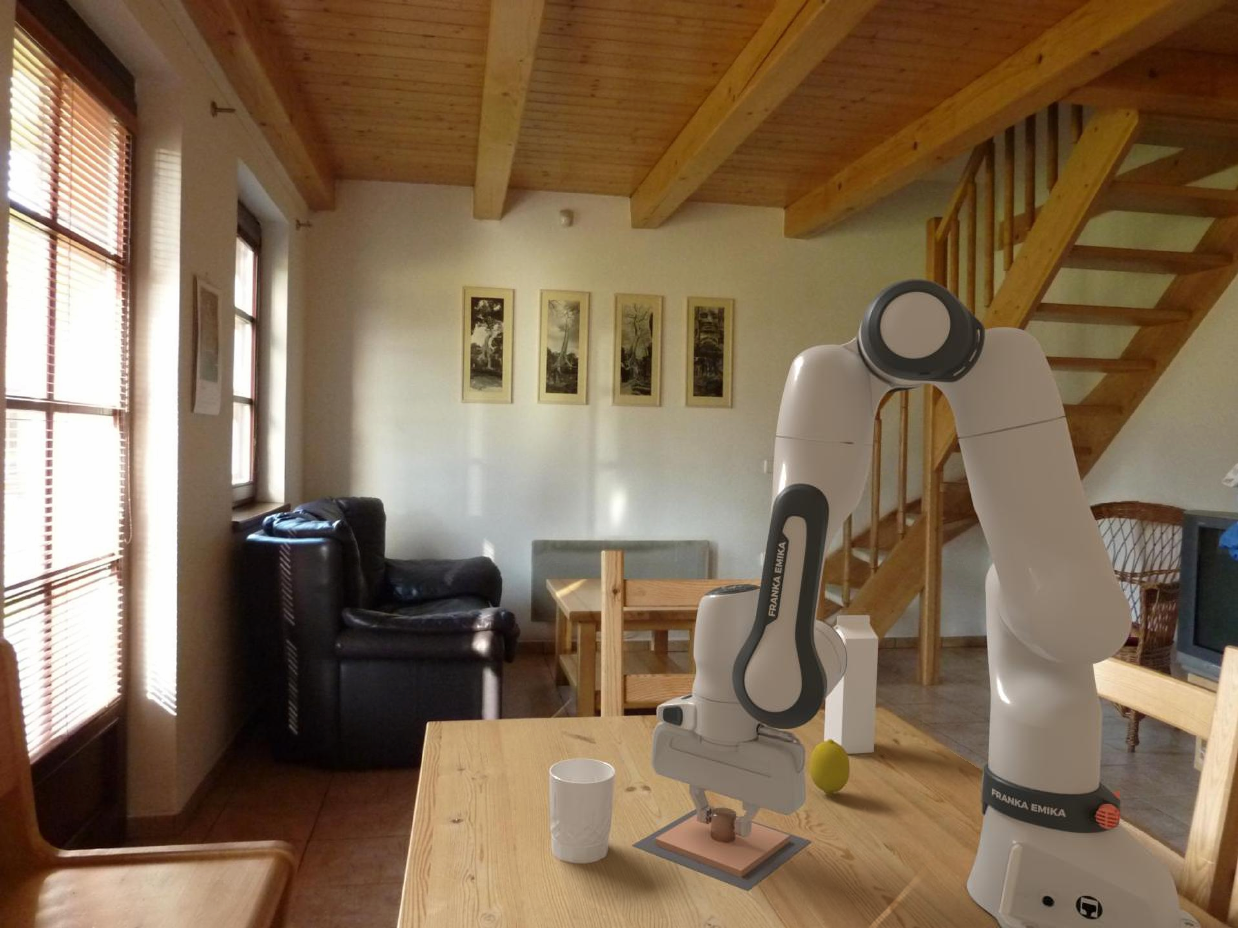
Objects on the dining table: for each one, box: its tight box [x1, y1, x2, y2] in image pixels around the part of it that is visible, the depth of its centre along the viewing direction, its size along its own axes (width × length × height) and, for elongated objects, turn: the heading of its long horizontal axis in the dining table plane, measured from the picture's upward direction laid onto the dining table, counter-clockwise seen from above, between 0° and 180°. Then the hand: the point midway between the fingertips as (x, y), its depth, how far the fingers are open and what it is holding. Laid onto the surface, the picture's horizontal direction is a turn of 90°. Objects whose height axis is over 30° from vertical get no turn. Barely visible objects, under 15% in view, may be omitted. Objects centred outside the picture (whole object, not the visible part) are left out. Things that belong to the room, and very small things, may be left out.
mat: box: [631, 808, 812, 892], centre depth 107 cm, size 16×16×1 cm
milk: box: [823, 614, 879, 755], centre depth 144 cm, size 6×6×22 cm
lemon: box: [809, 739, 851, 796], centre depth 124 cm, size 6×6×8 cm
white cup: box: [548, 758, 616, 864], centre depth 104 cm, size 8×8×10 cm
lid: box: [655, 807, 790, 878], centre depth 107 cm, size 12×12×4 cm
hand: (723, 827), depth 107 cm, fingers open, 4 cm apart
